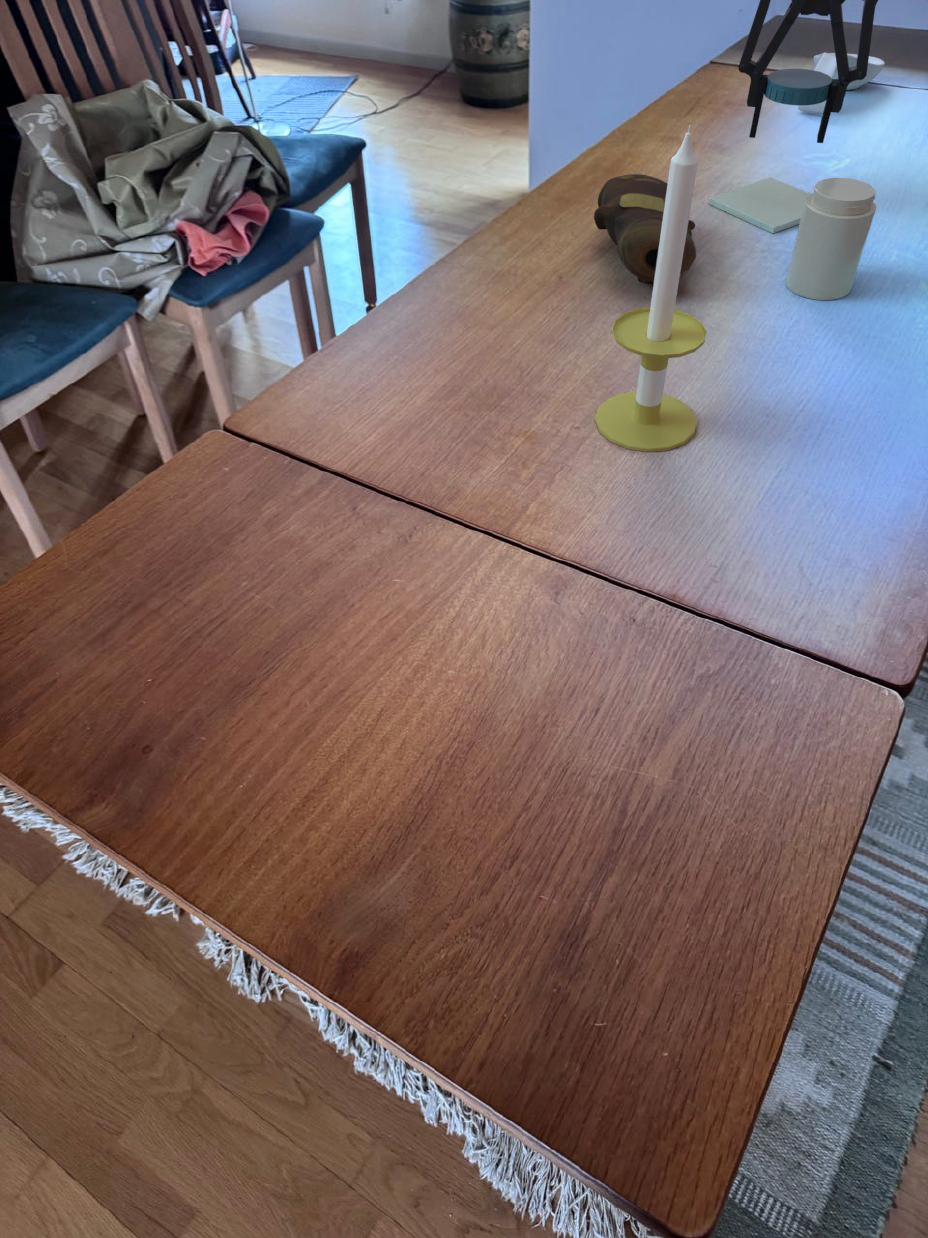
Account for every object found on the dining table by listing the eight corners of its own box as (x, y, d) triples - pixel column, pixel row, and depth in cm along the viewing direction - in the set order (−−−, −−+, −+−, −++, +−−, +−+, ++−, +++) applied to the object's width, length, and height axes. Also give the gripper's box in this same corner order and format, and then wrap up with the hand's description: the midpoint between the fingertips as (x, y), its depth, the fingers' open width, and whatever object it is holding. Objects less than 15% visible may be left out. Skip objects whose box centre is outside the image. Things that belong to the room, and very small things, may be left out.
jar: (863, 295, 103) (895, 197, 95) (804, 304, 102) (830, 206, 94) (830, 266, 108) (857, 171, 100) (773, 274, 107) (796, 179, 99)
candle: (573, 419, 87) (596, 124, 68) (641, 382, 92) (682, 94, 72) (649, 465, 82) (698, 159, 62) (718, 423, 86) (784, 125, 67)
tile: (835, 210, 119) (837, 204, 118) (772, 233, 115) (774, 227, 114) (769, 182, 126) (770, 176, 125) (707, 203, 122) (709, 197, 121)
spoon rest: (819, 70, 160) (830, 24, 154) (885, 79, 155) (899, 32, 150) (777, 109, 146) (787, 60, 141) (848, 120, 142) (861, 70, 137)
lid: (750, 95, 111) (754, 78, 109) (786, 80, 114) (790, 64, 113) (805, 110, 107) (809, 92, 105) (840, 94, 110) (845, 77, 109)
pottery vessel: (597, 302, 103) (603, 238, 98) (588, 228, 117) (593, 168, 112) (704, 302, 103) (716, 237, 97) (683, 227, 117) (692, 167, 111)
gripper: (934, -91, 97) (869, 132, 114) (744, -95, 102) (708, 120, 118) (938, -78, 92) (870, 153, 109) (739, -83, 97) (702, 140, 114)
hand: (786, 136), depth 114 cm, fingers closed on lid, 8 cm apart
